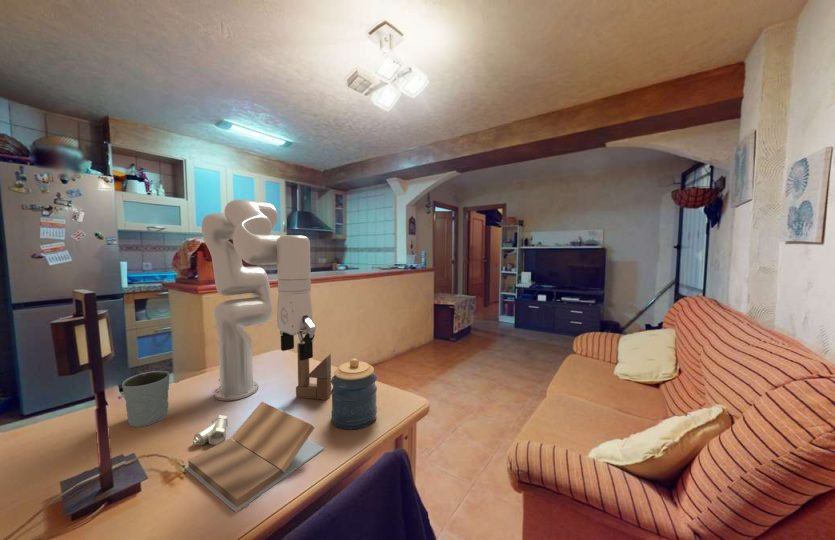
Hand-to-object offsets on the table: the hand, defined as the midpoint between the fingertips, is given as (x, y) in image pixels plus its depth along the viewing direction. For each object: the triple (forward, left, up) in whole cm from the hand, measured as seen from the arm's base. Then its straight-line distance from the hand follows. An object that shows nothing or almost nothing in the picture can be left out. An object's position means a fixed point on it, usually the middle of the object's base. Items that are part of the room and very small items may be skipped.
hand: (296, 354), depth 76 cm
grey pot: (-45, -16, -23) cm, 53 cm away
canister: (+4, +16, -23) cm, 28 cm away
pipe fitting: (-20, -11, -23) cm, 33 cm away
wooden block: (-16, +18, -23) cm, 33 cm away
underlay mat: (-3, -9, -23) cm, 25 cm away
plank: (-3, -5, -19) cm, 20 cm away
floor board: (-3, -15, -23) cm, 27 cm away
